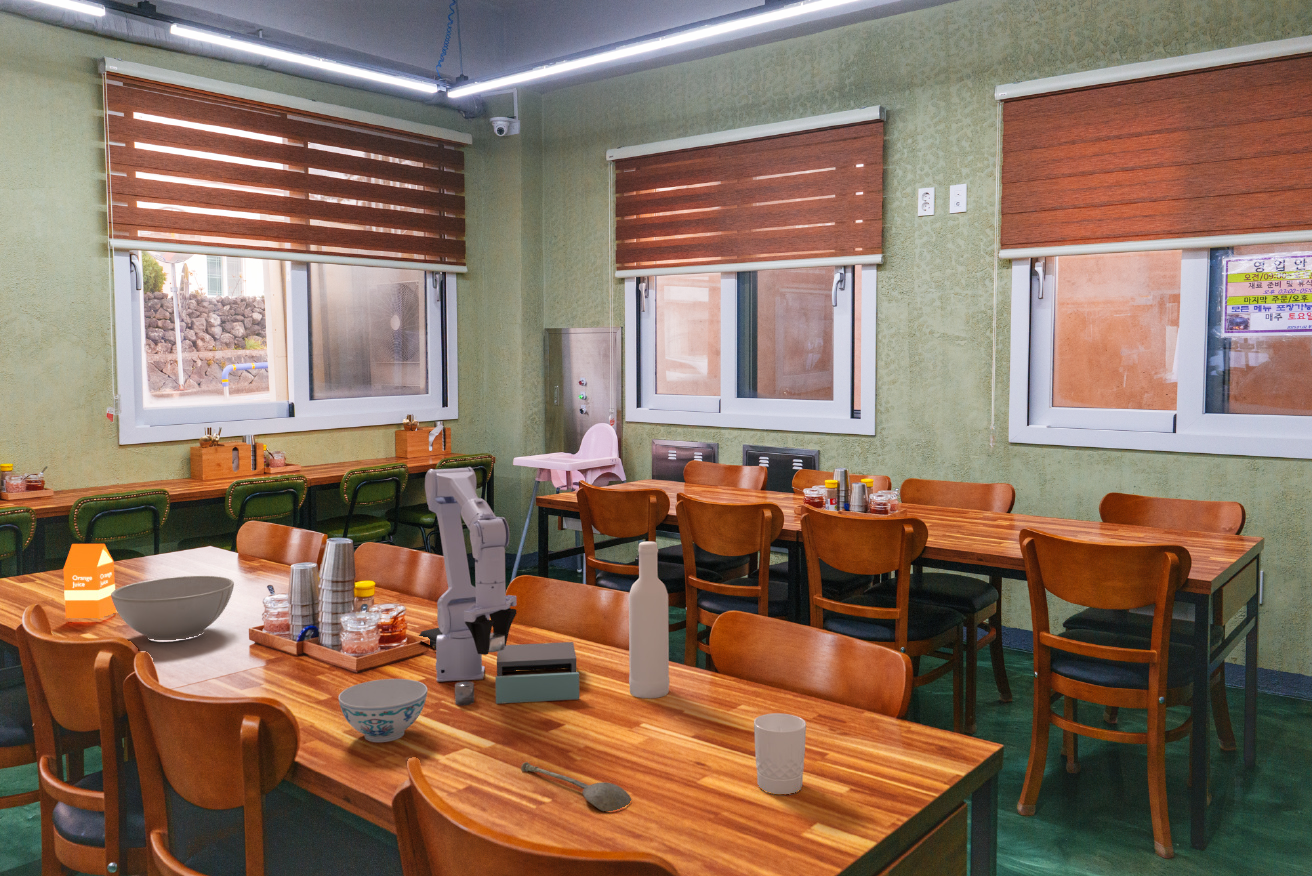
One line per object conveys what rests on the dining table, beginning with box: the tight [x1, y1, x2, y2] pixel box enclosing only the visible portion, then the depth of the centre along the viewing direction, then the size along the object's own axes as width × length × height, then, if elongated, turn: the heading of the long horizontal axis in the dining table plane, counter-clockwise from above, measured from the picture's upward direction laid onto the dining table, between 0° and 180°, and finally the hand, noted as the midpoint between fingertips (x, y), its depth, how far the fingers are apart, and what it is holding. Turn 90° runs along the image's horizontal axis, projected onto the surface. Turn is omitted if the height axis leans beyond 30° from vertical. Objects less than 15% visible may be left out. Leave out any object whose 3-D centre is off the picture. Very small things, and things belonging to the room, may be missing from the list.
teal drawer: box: [494, 671, 580, 705], centre depth 190 cm, size 16×12×5 cm
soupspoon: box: [520, 761, 632, 812], centre depth 145 cm, size 22×3×7 cm
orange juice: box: [63, 543, 117, 619], centre depth 250 cm, size 8×9×20 cm
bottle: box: [628, 541, 670, 699], centre depth 188 cm, size 8×8×30 cm
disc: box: [488, 632, 505, 653], centre depth 185 cm, size 5×5×2 cm
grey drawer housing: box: [496, 641, 578, 676], centre depth 199 cm, size 16×12×6 cm
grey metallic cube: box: [454, 681, 475, 706], centre depth 184 cm, size 4×4×4 cm
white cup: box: [753, 712, 807, 795], centre depth 145 cm, size 8×8×10 cm
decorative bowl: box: [111, 575, 235, 640], centre depth 233 cm, size 27×27×12 cm
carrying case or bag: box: [418, 627, 443, 650], centre depth 224 cm, size 11×3×15 cm
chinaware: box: [338, 678, 428, 743], centre depth 167 cm, size 15×15×8 cm
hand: (491, 650), depth 185 cm, fingers closed on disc, 5 cm apart
